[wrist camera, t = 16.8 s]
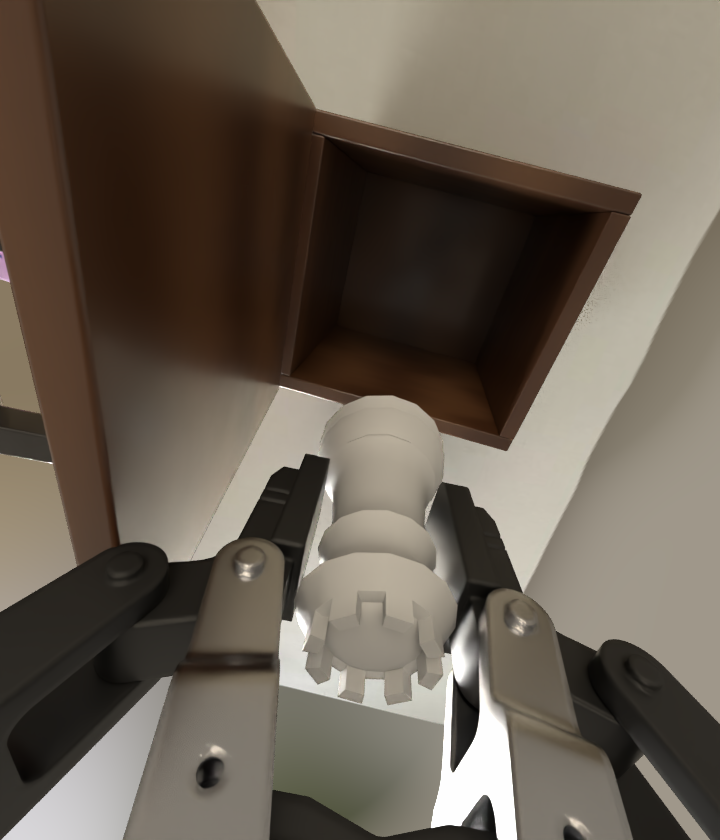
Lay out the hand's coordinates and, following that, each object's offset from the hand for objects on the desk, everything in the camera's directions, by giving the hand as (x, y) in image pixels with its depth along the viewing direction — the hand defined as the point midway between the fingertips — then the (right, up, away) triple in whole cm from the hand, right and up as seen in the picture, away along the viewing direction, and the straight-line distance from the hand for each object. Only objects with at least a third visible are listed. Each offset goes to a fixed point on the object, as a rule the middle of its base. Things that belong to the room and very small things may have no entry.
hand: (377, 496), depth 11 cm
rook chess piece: (0, +1, +3) cm, 3 cm away
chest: (+5, +14, +18) cm, 23 cm away
